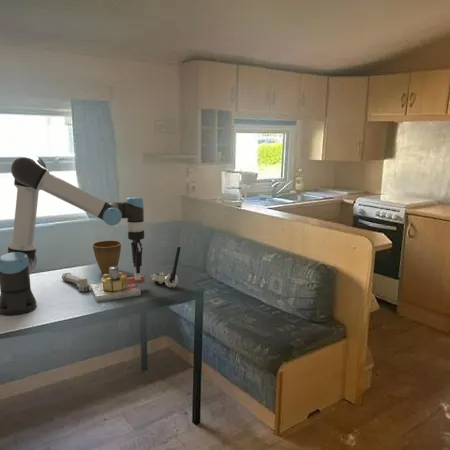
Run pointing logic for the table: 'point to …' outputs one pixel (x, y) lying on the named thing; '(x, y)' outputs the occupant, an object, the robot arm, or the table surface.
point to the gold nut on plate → (109, 295)
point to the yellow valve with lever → (119, 282)
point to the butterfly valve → (170, 278)
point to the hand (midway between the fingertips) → (137, 279)
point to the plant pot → (107, 254)
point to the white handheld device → (76, 281)
